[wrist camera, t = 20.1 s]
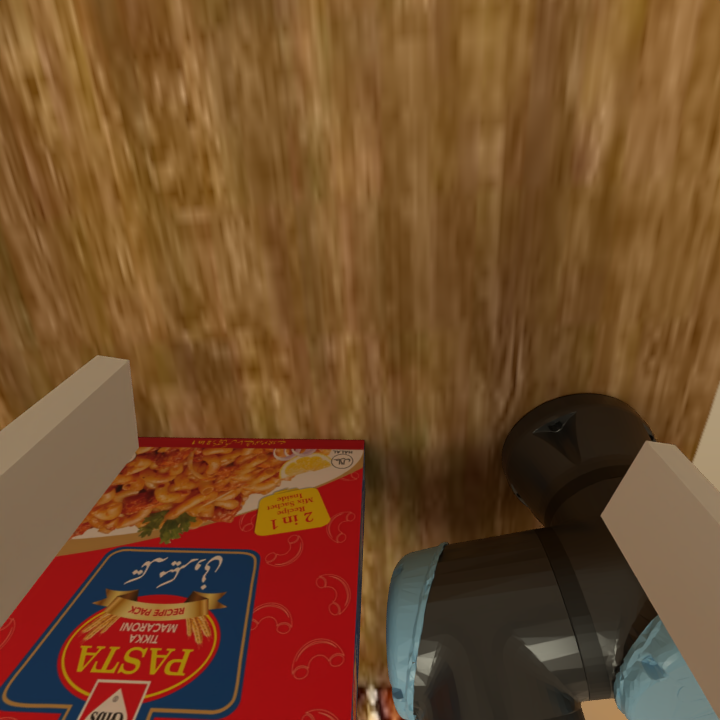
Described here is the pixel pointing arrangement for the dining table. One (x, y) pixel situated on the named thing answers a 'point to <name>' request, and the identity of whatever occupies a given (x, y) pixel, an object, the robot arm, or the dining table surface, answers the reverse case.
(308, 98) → the dining table surface
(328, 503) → the pasta box
